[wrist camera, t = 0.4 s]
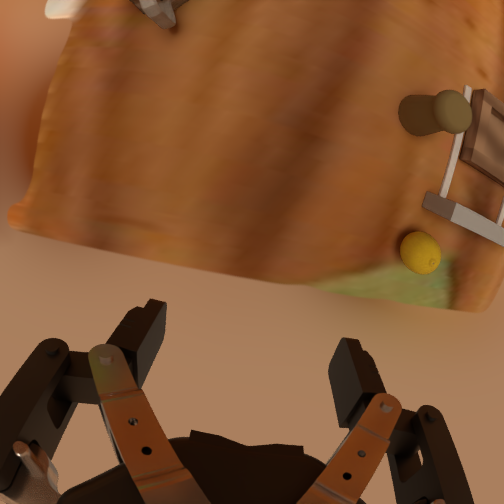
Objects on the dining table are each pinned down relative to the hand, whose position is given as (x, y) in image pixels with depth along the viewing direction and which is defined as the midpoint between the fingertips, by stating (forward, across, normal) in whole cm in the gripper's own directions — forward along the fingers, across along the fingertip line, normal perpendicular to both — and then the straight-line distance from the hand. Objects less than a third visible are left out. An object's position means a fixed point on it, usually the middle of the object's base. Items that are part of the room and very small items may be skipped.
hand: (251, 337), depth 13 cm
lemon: (+28, -22, 0) cm, 36 cm away
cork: (+29, -18, -18) cm, 38 cm away
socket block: (+28, -33, -20) cm, 48 cm away
